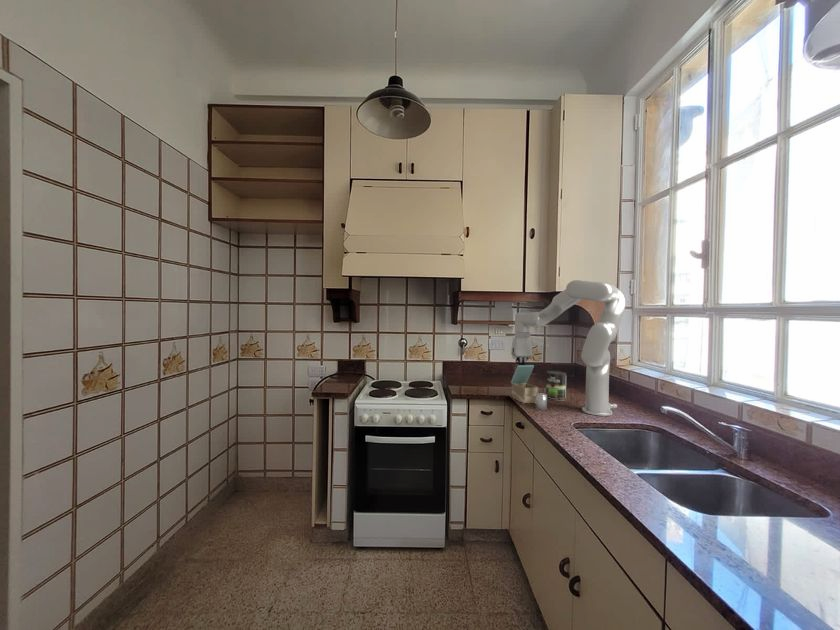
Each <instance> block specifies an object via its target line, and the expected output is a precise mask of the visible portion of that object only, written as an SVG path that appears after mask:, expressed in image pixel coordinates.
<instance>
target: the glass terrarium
mask: <svg viewBox="0 0 840 630" xmlns="http://www.w3.org/2000/svg"><path fill="white" fill-rule="evenodd" d="M545 374H546V380H545V381H546V382H545V383H546V386H545V388H546V391H545V394H547V397H549V398H553V399H564V398H566V399H567V373H566V372H564V371H559V370H547V371H546V372H545Z"/></svg>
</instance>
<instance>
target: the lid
mask: <svg viewBox="0 0 840 630" xmlns="http://www.w3.org/2000/svg"><path fill="white" fill-rule="evenodd" d="M534 368H535V365H534V364H525V365H519V364H518V365H517V366H516V369H515V371H514V373H513V376H512V378H511V381H510V384H511V385H512V384H516V383H528V382H529V379H530V376H531V374H532V372H533V370H534Z"/></svg>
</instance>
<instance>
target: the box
mask: <svg viewBox="0 0 840 630" xmlns="http://www.w3.org/2000/svg"><path fill="white" fill-rule="evenodd" d="M536 393H540V387H539V386H536V385H533V384H531V383H528V382H527V383H513V384H511V398H512V397H514V398H515V399H517V400H519V401H521V402H523V403H535V404H536Z"/></svg>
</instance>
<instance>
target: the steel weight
mask: <svg viewBox="0 0 840 630" xmlns="http://www.w3.org/2000/svg"><path fill="white" fill-rule="evenodd" d="M536 408H538V409H537V410H539V409H548V398H547V394H546V392H545V393H544V392H539V393H536V403H535V409H536Z"/></svg>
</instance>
